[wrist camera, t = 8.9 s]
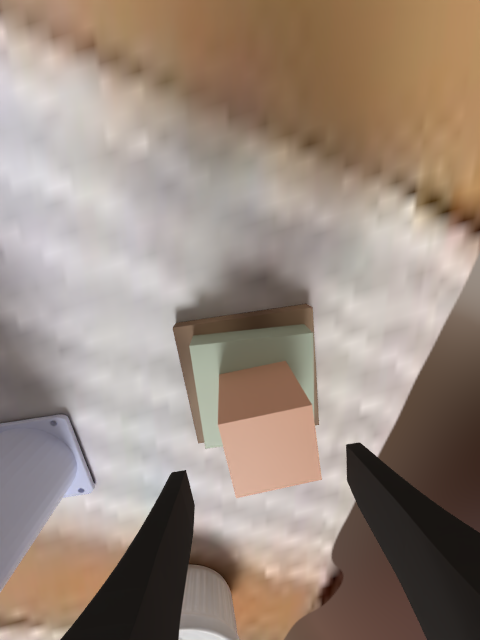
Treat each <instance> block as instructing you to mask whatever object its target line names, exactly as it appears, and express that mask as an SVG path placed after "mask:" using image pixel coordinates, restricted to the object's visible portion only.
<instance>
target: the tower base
mask: <svg viewBox="0 0 480 640" xmlns="http://www.w3.org/2000/svg"><path fill="white" fill-rule="evenodd" d="M300 324H304V325H305V326H307V327H308V328H309V329H310V330H311V331H312V332H313V350H314V423H315V425H319V417H318V399H317V380H316V362H315V344H314V326H313V308H312V307H311V306H309V305H308V304H302V305H295V306H288V307H281V308H274V309H267V310H261V311H254V312H247V313H240V314H233V315H226V316H219V317H213V318H206V319H199V320H192V321H185V322H178V323H176V324H175V325H174V327H173V332H174V336H175V341H176V345H177V350H178V354H179V359H180V363H181V368H182V372H183V377H184V381H185V386H186V390H187V394H188V399H189V403H190V408H191V412H192V417H193V421H194V426H195V430H196V435H197V439H198V443H204V436H203V430H202V423H201V417H200V411H199V404H198V398H197V392H196V385H195V379H194V373H193V366H192V360H191V354H190V347H189V345H190V343H191V340H192V338H193V336H194V335H204V334H213V333H223V332H233V331H242V330H252V329H261V328H271V327H281V326H290V325H300Z"/></svg>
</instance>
